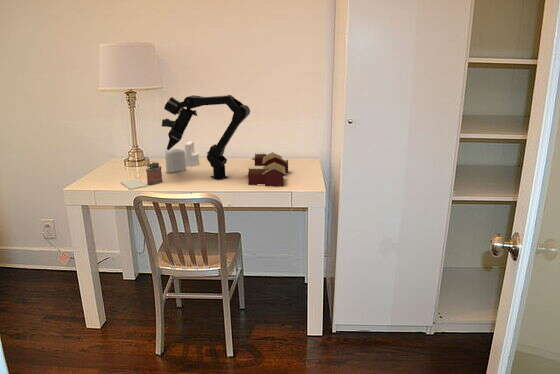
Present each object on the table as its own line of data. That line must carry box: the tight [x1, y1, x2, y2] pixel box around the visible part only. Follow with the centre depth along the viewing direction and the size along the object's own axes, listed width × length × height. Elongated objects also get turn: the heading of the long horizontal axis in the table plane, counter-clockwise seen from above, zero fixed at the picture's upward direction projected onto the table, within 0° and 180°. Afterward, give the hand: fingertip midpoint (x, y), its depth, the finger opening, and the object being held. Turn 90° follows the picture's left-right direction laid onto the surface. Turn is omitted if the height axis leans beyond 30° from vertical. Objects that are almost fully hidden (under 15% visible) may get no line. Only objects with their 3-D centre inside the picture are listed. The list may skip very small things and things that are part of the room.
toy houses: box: [244, 152, 289, 187], centre depth 237 cm, size 45×20×10 cm, turn 0°
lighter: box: [145, 161, 164, 186], centre depth 222 cm, size 8×3×10 cm, turn 141°
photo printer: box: [164, 146, 187, 174], centre depth 242 cm, size 10×4×12 cm, turn 123°
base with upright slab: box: [184, 140, 200, 168], centre depth 254 cm, size 9×9×12 cm
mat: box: [119, 178, 149, 191], centre depth 221 cm, size 14×8×1 cm, turn 36°
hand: (168, 148), depth 227 cm, fingers open, 9 cm apart
